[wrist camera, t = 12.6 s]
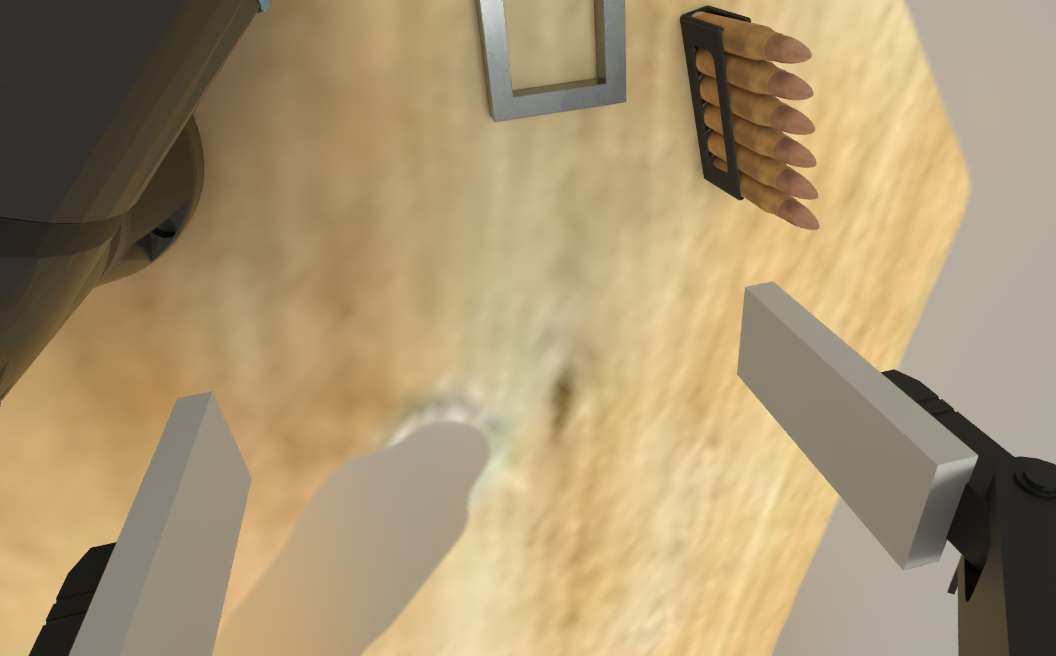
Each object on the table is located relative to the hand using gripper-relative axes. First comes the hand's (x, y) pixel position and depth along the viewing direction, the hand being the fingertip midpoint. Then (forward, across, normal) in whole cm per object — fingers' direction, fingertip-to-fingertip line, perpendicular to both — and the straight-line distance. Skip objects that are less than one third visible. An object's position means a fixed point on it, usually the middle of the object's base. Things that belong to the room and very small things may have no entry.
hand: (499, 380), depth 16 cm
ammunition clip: (+27, +18, -1) cm, 32 cm away
